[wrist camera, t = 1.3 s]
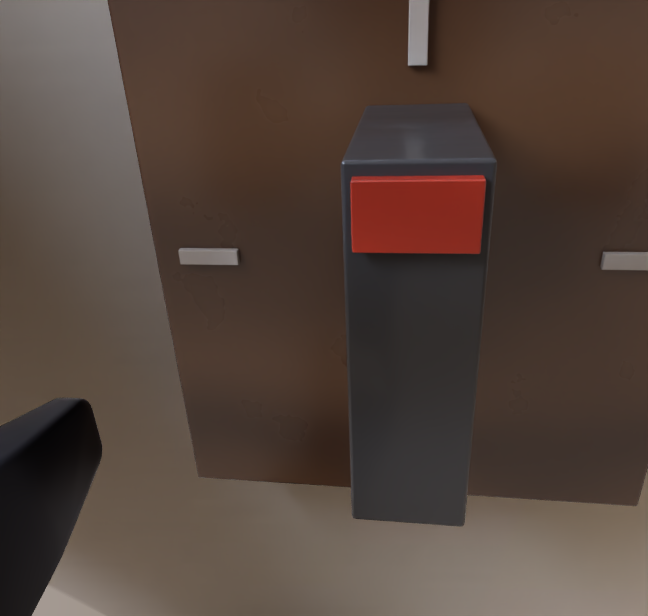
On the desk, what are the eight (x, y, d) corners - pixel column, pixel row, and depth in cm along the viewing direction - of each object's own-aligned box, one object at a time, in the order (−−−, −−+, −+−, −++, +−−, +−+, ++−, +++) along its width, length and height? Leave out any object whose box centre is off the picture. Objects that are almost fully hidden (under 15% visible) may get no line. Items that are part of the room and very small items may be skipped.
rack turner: (450, 381, 14) (465, 539, 10) (368, 378, 15) (350, 530, 10) (469, 102, 11) (500, 163, 7) (365, 105, 12) (338, 164, 7)
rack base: (605, 432, 18) (639, 511, 15) (227, 414, 20) (196, 482, 17) (730, -129, 12) (829, -168, 9) (151, -85, 13) (81, -106, 10)
